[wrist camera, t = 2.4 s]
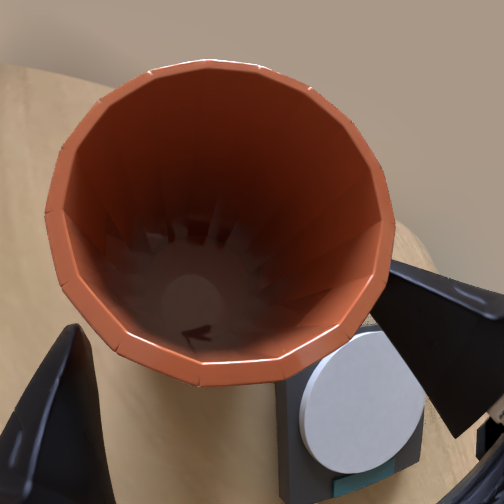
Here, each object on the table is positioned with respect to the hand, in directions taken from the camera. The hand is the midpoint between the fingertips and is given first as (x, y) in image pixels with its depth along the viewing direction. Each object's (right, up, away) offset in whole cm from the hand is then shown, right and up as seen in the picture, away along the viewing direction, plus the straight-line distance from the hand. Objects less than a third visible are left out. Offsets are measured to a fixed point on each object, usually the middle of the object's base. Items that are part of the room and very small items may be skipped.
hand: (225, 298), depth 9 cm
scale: (+8, -10, +9) cm, 15 cm away
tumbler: (-2, -1, +9) cm, 9 cm away
